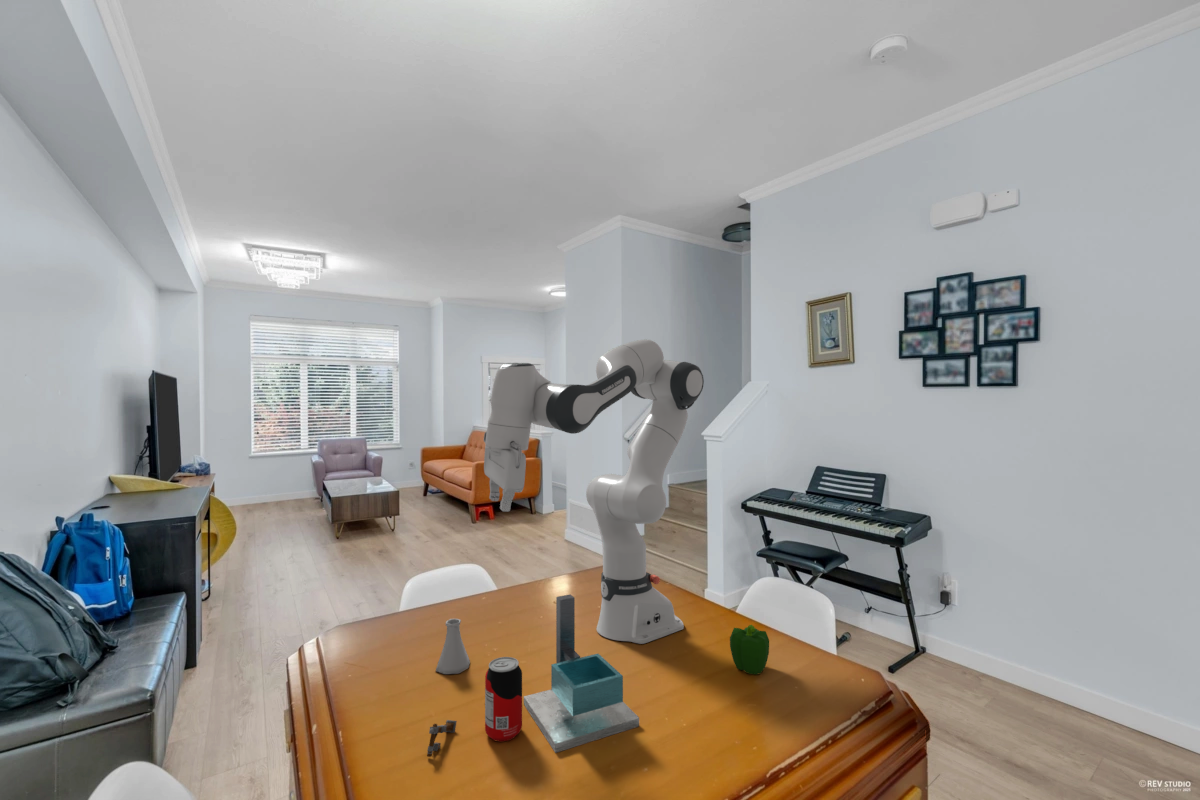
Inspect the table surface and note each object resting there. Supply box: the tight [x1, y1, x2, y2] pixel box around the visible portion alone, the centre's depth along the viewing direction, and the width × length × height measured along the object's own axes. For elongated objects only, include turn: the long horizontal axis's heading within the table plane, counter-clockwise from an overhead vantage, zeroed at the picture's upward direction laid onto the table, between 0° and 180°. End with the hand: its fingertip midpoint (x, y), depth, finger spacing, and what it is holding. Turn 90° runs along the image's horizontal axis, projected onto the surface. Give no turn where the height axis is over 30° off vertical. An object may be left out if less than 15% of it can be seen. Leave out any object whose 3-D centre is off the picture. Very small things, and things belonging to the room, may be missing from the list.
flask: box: [435, 618, 471, 675], centre depth 116 cm, size 7×7×10 cm
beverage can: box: [484, 656, 523, 742], centre depth 92 cm, size 6×6×12 cm
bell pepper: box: [729, 624, 770, 675], centre depth 115 cm, size 8×8×10 cm
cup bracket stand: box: [523, 593, 640, 754], centre depth 98 cm, size 16×16×20 cm
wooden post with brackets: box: [426, 719, 458, 758], centre depth 89 cm, size 2×8×4 cm, turn 170°
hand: (499, 505), depth 110 cm, fingers open, 8 cm apart
